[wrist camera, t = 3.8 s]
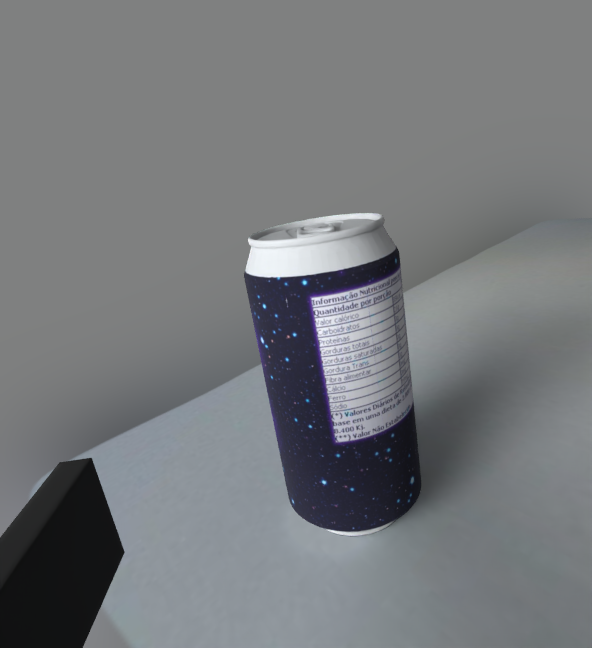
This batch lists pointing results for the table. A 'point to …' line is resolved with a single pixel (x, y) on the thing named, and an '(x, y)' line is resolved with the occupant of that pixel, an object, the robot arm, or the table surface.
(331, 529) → the beverage can
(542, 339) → the table surface
